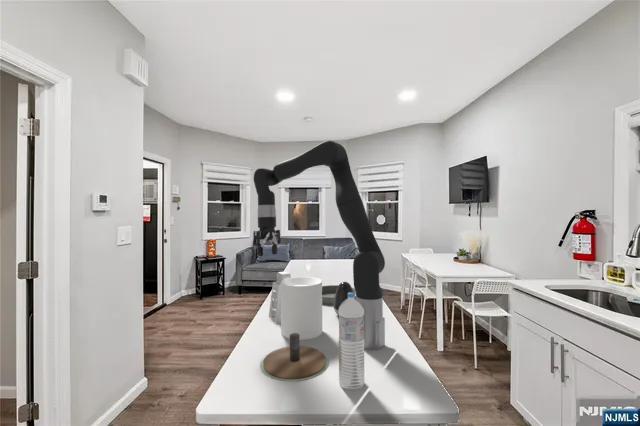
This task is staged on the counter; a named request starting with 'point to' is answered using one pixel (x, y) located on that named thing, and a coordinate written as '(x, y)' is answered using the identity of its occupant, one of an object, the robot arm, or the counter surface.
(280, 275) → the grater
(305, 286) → the canister
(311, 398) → the counter surface
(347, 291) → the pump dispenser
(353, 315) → the water bottle
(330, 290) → the cake pan
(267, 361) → the lid
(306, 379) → the mat
